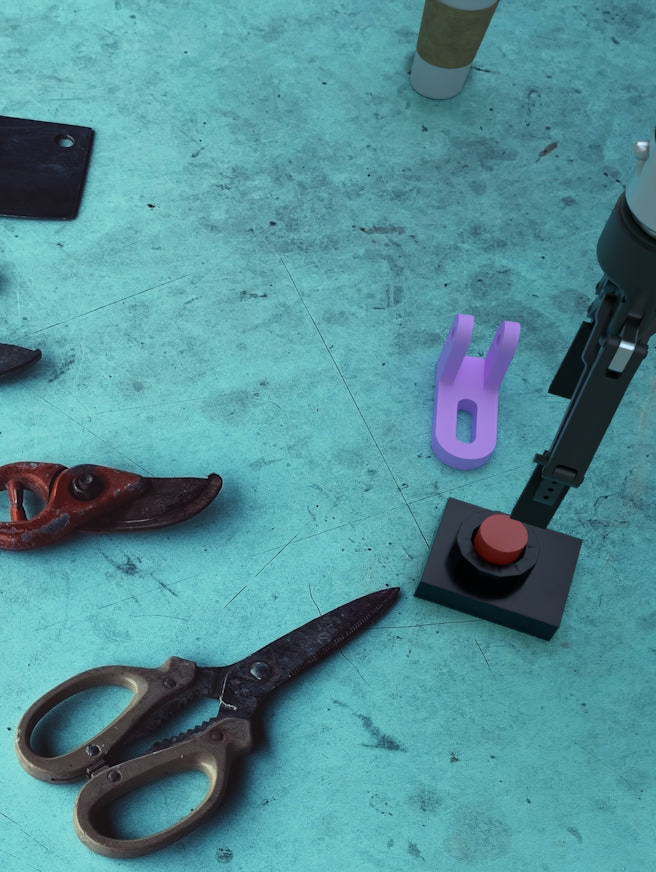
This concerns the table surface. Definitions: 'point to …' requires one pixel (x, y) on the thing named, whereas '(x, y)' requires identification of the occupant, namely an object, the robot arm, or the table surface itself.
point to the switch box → (499, 573)
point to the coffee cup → (448, 44)
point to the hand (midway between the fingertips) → (547, 456)
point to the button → (500, 539)
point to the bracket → (469, 392)
